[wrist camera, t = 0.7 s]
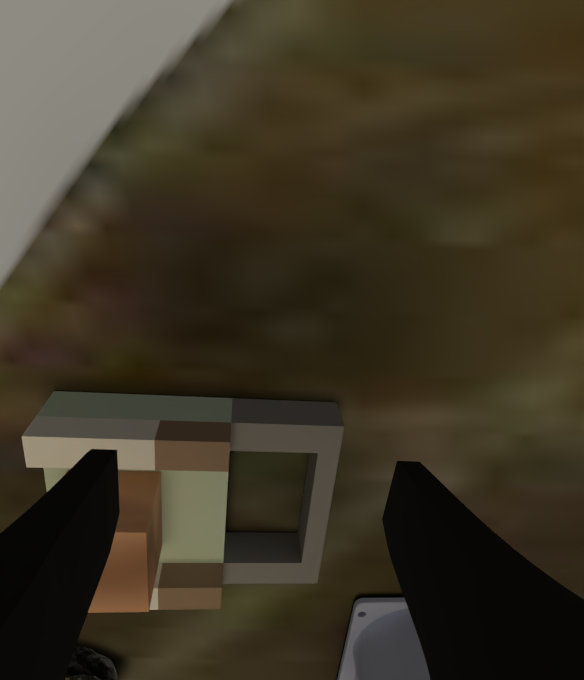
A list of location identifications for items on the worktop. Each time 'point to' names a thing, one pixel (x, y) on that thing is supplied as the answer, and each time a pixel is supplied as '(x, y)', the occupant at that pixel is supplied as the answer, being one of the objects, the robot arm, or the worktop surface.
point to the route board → (200, 479)
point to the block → (133, 546)
